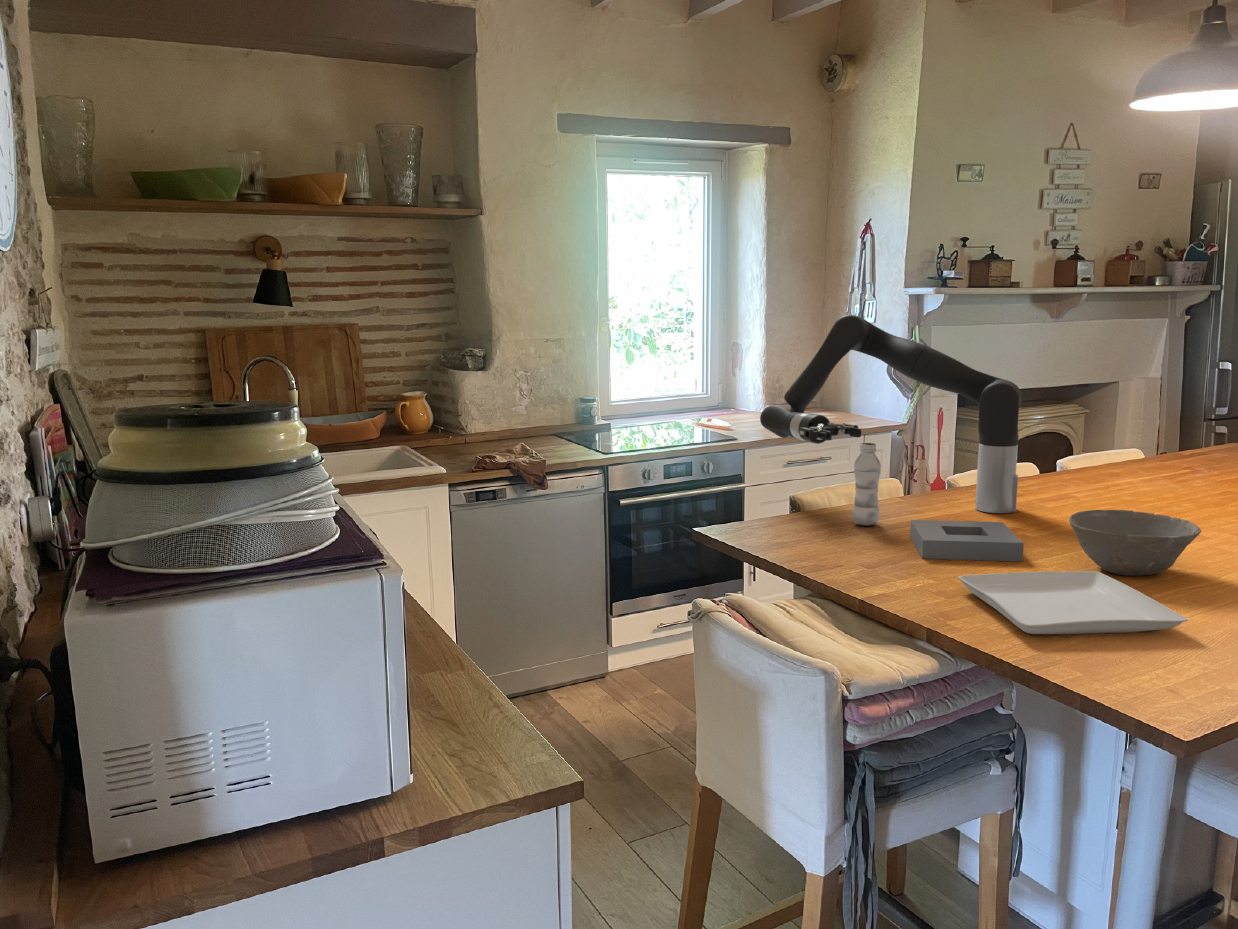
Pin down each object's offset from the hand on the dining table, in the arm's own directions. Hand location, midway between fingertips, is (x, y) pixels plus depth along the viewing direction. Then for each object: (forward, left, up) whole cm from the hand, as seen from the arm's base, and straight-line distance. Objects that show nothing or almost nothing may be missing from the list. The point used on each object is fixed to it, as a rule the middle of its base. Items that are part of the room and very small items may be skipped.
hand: (845, 434), depth 226 cm
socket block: (-24, +27, -21) cm, 42 cm away
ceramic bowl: (-53, +40, -21) cm, 70 cm away
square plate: (-33, +68, -22) cm, 78 cm away
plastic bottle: (-5, +8, -21) cm, 23 cm away
